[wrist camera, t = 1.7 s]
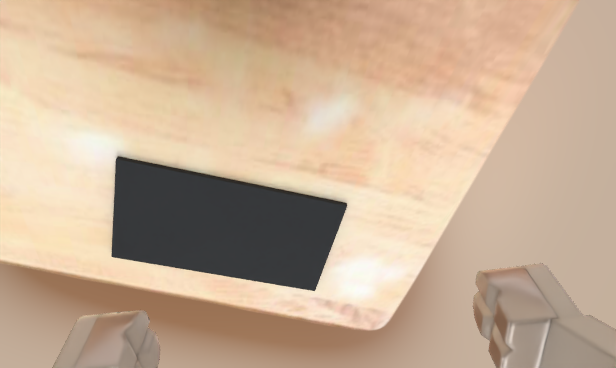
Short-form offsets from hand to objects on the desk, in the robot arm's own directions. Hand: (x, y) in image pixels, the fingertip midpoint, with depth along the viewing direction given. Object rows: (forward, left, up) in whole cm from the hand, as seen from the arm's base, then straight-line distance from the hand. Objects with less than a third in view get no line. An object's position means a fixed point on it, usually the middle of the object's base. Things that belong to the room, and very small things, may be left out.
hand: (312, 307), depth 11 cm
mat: (-2, -21, -29) cm, 35 cm away
